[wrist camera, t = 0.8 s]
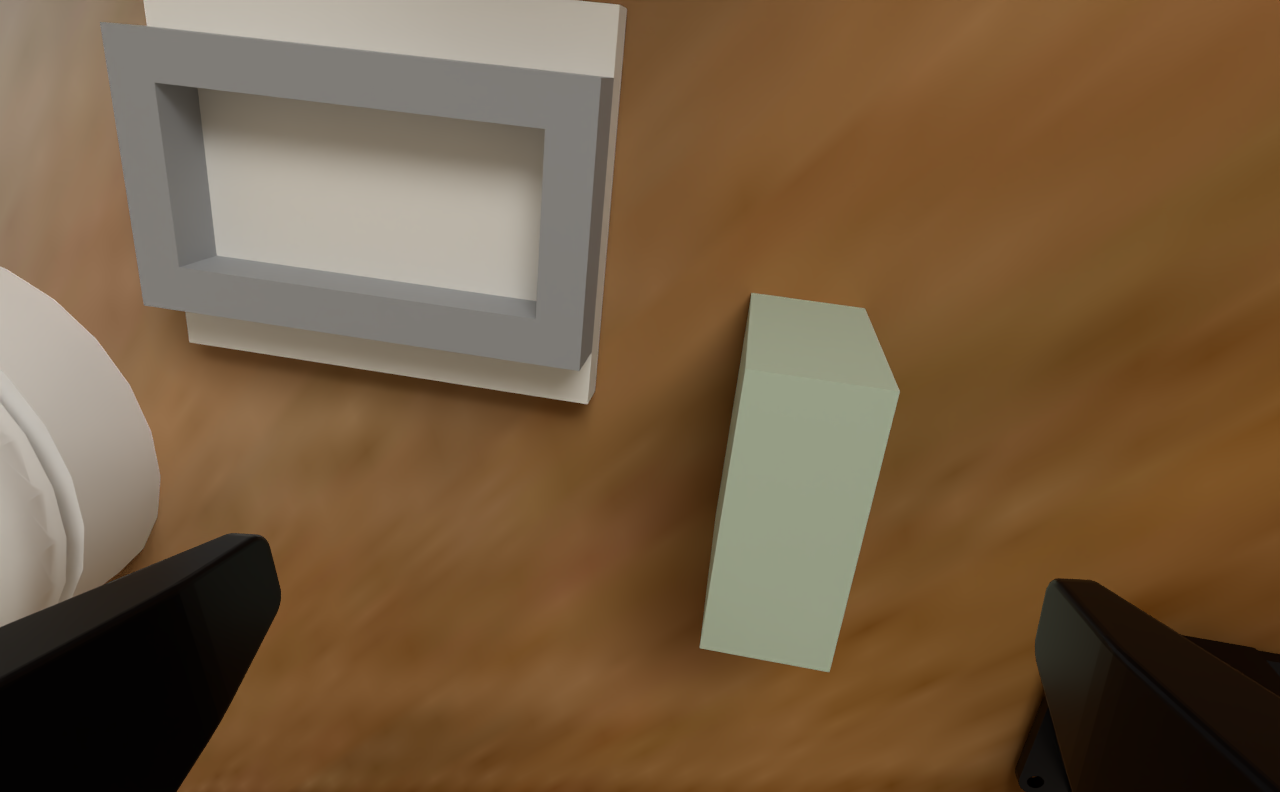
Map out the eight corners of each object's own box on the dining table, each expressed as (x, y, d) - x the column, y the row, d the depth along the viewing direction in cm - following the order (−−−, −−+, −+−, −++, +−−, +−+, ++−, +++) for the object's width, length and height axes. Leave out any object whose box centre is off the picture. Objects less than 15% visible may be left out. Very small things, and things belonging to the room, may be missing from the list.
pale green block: (814, 531, 23) (829, 672, 18) (715, 515, 24) (699, 648, 18) (864, 307, 21) (899, 391, 15) (751, 292, 21) (745, 369, 15)
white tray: (594, 390, 23) (575, 426, 20) (211, 332, 24) (152, 359, 21) (627, 8, 19) (607, -2, 16) (166, -39, 20) (88, -54, 18)
